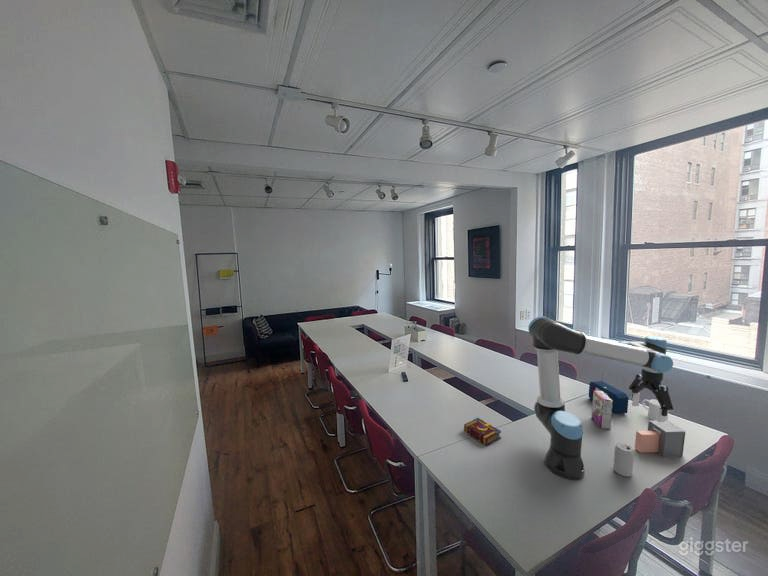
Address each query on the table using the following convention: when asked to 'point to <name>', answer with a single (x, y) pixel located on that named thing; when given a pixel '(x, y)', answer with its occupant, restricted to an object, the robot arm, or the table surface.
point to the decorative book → (482, 431)
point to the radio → (611, 396)
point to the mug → (653, 409)
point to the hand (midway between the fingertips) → (647, 413)
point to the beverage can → (623, 459)
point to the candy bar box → (602, 409)
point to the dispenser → (668, 438)
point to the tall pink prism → (647, 441)
